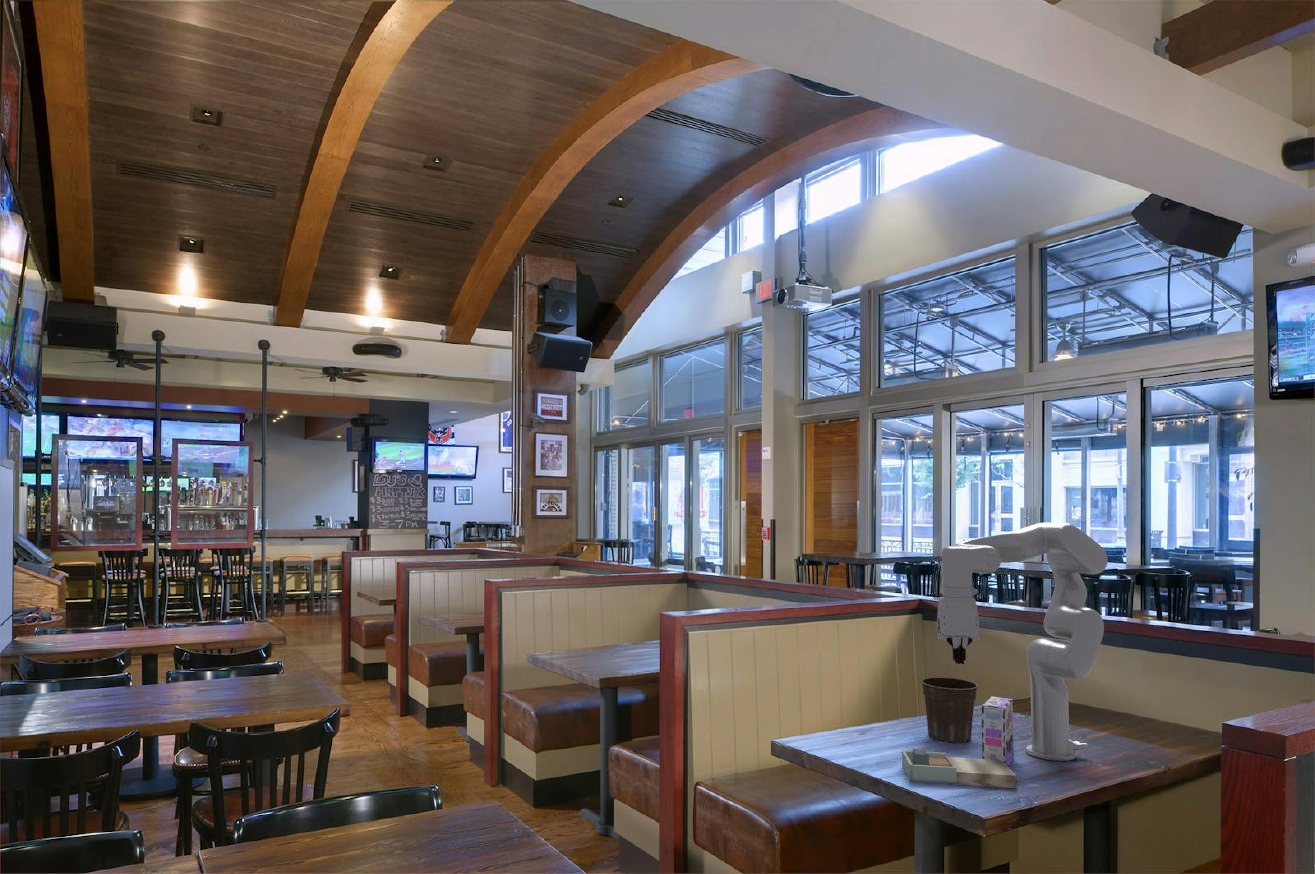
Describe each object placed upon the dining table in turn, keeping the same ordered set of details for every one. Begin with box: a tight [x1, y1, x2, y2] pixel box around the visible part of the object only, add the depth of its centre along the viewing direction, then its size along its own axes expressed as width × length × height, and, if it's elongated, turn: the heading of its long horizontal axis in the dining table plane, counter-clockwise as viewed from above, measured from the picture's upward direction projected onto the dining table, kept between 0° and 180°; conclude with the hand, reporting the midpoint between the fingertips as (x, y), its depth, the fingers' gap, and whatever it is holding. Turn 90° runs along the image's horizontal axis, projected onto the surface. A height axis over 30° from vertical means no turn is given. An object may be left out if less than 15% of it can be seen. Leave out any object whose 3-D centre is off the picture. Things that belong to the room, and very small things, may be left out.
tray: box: [901, 750, 958, 786], centre depth 214 cm, size 11×13×4 cm
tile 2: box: [929, 758, 950, 767], centre depth 213 cm, size 5×5×3 cm
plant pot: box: [920, 676, 979, 744], centre depth 250 cm, size 16×16×16 cm
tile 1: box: [912, 748, 929, 766], centre depth 214 cm, size 5×5×3 cm
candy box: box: [981, 695, 1015, 768], centre depth 225 cm, size 14×6×16 cm, turn 148°
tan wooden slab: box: [946, 756, 1017, 789], centre depth 212 cm, size 14×13×3 cm
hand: (959, 662), depth 222 cm, fingers closed
